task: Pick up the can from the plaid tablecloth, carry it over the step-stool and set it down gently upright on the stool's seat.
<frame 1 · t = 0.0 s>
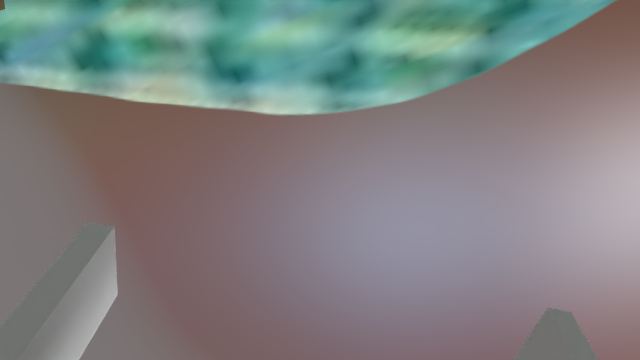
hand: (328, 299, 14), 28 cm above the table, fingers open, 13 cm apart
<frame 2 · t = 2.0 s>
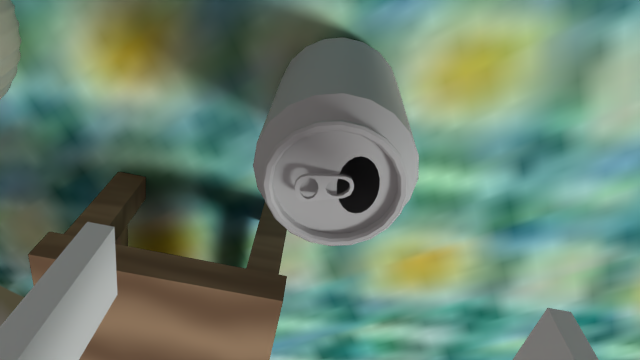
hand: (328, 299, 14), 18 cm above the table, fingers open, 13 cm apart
stool: (200, 253, 37), on the table
can: (338, 91, 29), on the table
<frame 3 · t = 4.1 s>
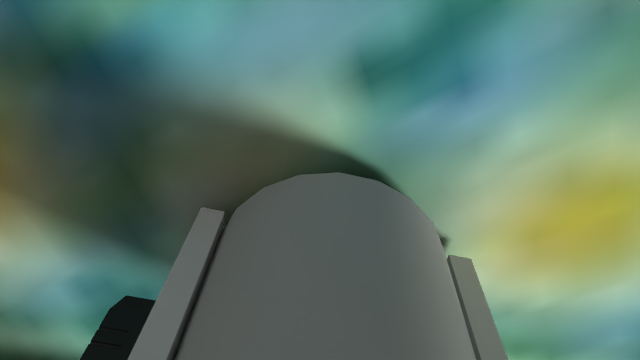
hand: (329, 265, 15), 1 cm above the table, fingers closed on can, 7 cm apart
can: (330, 248, 16), on the table, touching gripper
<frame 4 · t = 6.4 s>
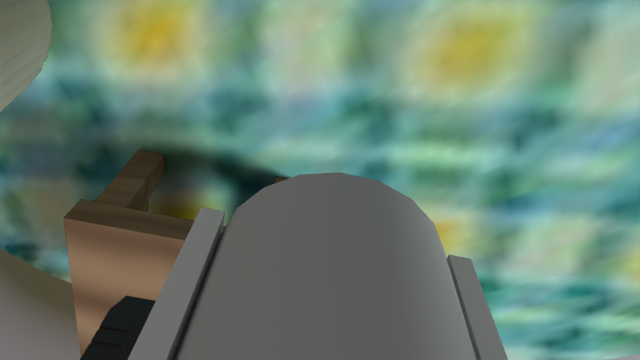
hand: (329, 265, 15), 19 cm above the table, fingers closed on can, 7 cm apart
stool: (214, 229, 39), on the table
can: (330, 248, 16), point 18 cm above the table, touching gripper
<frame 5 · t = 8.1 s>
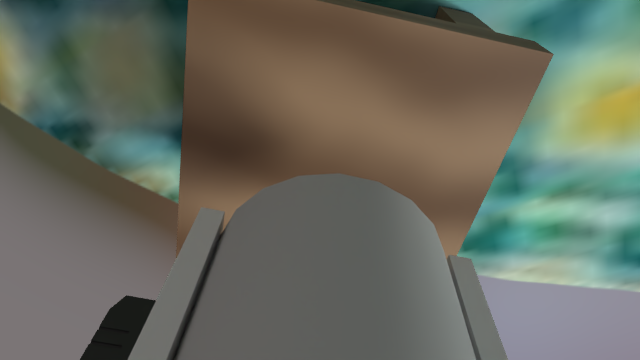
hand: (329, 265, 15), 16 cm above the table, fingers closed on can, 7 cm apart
stool: (338, 94, 29), on the table
can: (330, 249, 16), point 15 cm above the table, touching gripper
when the fingers open (12 cm above the table, at t = 9.1 s): can drops 1 cm, resting on stool.
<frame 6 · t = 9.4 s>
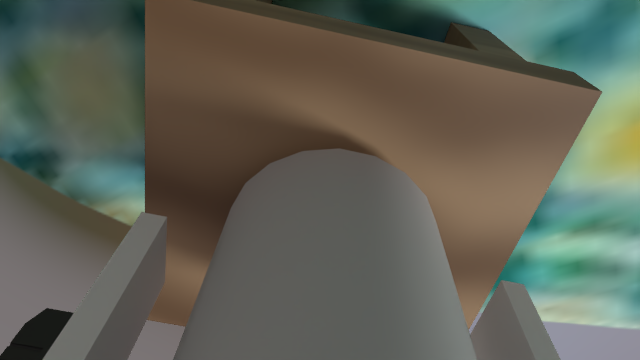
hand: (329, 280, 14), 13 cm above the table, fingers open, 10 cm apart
stool: (335, 120, 25), on the table
can: (331, 223, 17), point 10 cm above the table, touching stool
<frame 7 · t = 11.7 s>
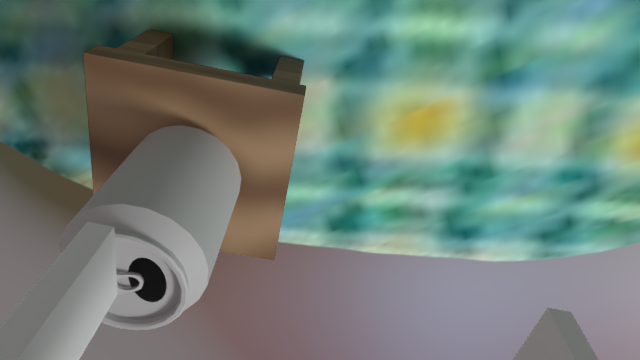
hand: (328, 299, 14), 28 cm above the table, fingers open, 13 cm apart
stool: (221, 116, 40), on the table
can: (191, 167, 32), point 10 cm above the table, touching stool
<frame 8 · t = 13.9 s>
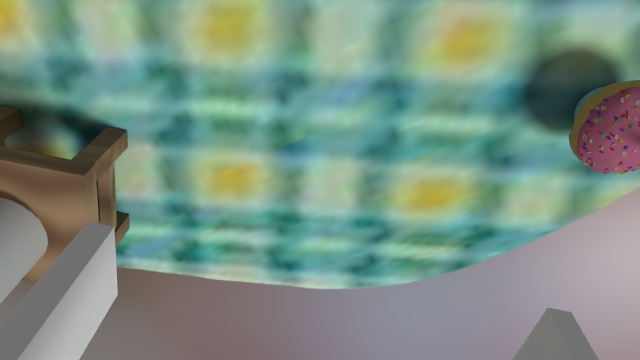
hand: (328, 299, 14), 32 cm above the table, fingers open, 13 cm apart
stool: (69, 170, 49), on the table
can: (13, 223, 41), point 10 cm above the table, touching stool
cupcake: (596, 109, 43), on the table
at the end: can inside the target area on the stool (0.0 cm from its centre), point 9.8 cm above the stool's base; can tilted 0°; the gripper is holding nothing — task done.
